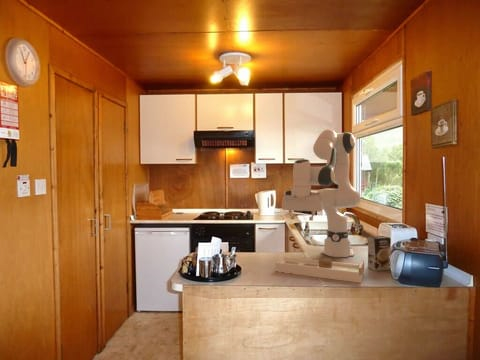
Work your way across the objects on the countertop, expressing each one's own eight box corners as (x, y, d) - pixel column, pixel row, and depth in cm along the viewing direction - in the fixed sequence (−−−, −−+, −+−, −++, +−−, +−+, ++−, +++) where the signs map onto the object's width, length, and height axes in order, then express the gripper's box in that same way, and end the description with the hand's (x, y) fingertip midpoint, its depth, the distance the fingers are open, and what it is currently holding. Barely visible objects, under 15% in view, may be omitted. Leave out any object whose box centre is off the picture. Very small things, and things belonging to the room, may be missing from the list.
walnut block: (321, 265, 166) (321, 257, 166) (331, 266, 164) (331, 258, 164) (319, 268, 162) (319, 260, 162) (329, 269, 160) (329, 261, 159)
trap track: (284, 264, 179) (284, 252, 179) (364, 274, 161) (364, 260, 161) (276, 271, 167) (275, 258, 167) (361, 282, 150) (361, 268, 149)
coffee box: (375, 271, 166) (375, 238, 166) (367, 267, 172) (367, 236, 172) (391, 269, 169) (391, 237, 168) (382, 266, 175) (382, 235, 174)
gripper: (324, 192, 165) (324, 220, 166) (284, 191, 174) (284, 217, 174) (321, 192, 160) (321, 221, 160) (280, 191, 168) (280, 219, 169)
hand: (301, 219), depth 167 cm, fingers open, 8 cm apart
